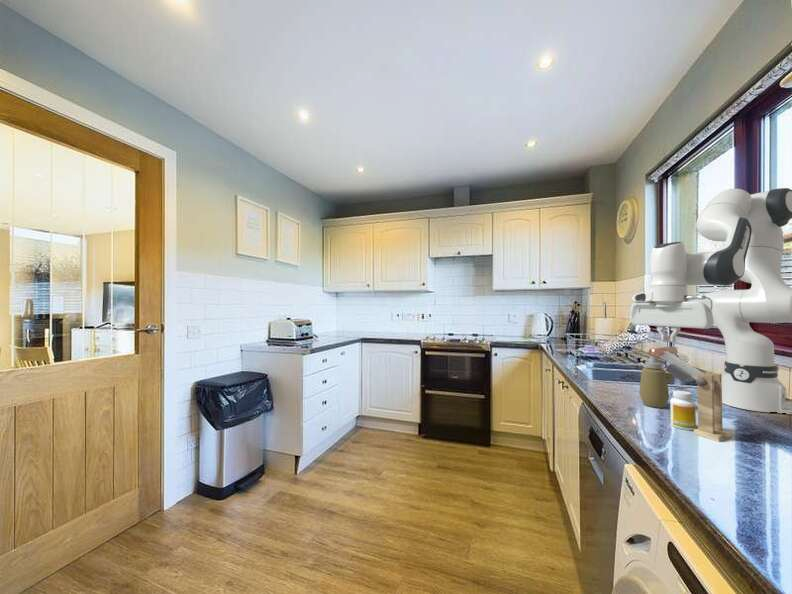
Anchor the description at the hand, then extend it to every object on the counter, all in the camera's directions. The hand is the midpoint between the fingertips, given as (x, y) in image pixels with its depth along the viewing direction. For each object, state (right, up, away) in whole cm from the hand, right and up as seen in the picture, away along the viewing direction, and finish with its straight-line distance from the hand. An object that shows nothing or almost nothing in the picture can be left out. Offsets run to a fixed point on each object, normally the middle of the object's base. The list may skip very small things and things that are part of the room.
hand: (668, 341), depth 100 cm
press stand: (+1, -23, -12) cm, 26 cm away
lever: (-1, -8, -5) cm, 10 cm away
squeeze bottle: (+5, -23, +12) cm, 27 cm away
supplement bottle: (-2, -23, -7) cm, 24 cm away
